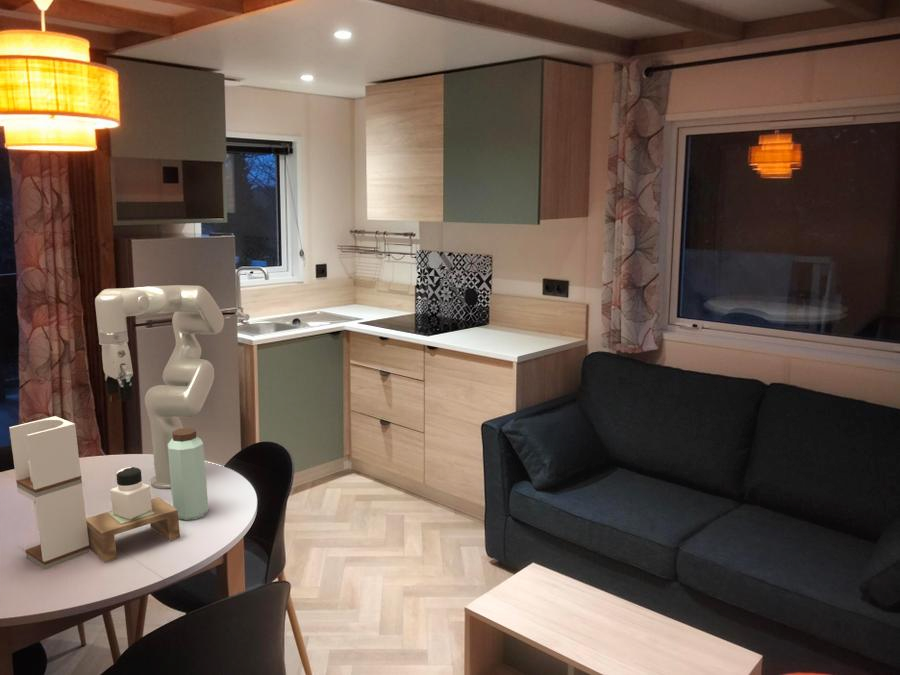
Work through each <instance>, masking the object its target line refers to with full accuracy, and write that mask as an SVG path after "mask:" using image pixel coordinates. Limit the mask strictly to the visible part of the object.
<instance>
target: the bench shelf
mask: <svg viewBox="0 0 900 675" xmlns="http://www.w3.org/2000/svg"><path fill="white" fill-rule="evenodd" d="M151 503H152V510H151V511H149V512H147V513H144V514H142V515H140V516H137V517H135V518H133V519H131V520H130V519H127V518H123V517H120V516H117V515H114V514H113V510H110V511H107V512H103V513H100V514H96V515H93V516H90V517H86V523H87V531H88V540H89V549H90V552H93V553H94V555H95V556H97V557H98V558H99V559H100V560H101V561H102V562H104V563H107V562H110V561H113V560H117V558H118V557H117V548H116V547H117V546H116V540H115V539H116V538H115V535H119V534H123V533H125V532H127V531H131V530H135V529H138V528H140V527H144V526H147V525H150V528H151V529H152V530H154V531H155V532H156V533H158V534H160V535H161V536H162V538H165V539H166V540H167V541H169V542H171V541H173V540H177V539H179V538H181V533H180V532H181V531H180V522H179V521H180V519H178V510H177V509H176V508H174V507H173V505H171V504H170V503H169V502H166V500H163V499H162V498H161V497H159V496H158V497H153V498H151Z"/></svg>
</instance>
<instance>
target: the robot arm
mask: <svg viewBox="0 0 900 675" xmlns="http://www.w3.org/2000/svg"><path fill="white" fill-rule="evenodd" d="M94 306H95V313H96V314H95V316H96V324H97V325H96V326H97V332H98V333H97V334H98V341H99V342H98V344H99V345H101V359H102V360H101V361H102V369H103V374H104V380H105V388H106V395H114V394H118V393H119V399H120V401H121V402H123V401H130V400H132V399H133V392H132V390H133V389H132V377H133V375H134V371H133V365H132V358H131V357H132V356H131V351H130V349H129V348H130V347H129V345H128V343H129V336H128V335H129V334H128V324H127V317H135V316H140V315H142V314H144V315H160V314H169V313H171V314H172V313H173V316H172V318H171V320H172V321H171V323H172V328H173V333H174V338H175V347H174V348H173V351H172V352H171V355H170V357H169V359H168V361H167V363H166V365H165V367H164V369H163V372H162V380H163V382H164V384H160V385H159V384H158V385H154V386H152V387H150V388H149V389H148V390H146V392H145V393H146V394H144V395H145V396H144V405H145V409H146V413H147V415H148V416H147V417H148V419H149V424H150V432H151V444H152V453H153V461H154V462H153V464H154V473H155V474H154V476H153V477H152V478H151V479H150V486H152V487H153V488H156V489H164V490H165V489H171V478H170V467H169V456H168V443H169V442H170V441H171V439H172V432H173V431H175V430H177V429H182V428H184V427H183V423H182V421H181V419H180V418H193V417H195V416H197V415H199V413H200V411H201V410H202V408H203V406H204V404H205V402H206V401H207V400H206V399H207V397H208V395H209V393H210V391H211V388H212V386H213V385H214V384H213V383H214V380H215V368H214V366H213V364H212V362H210V361H209V360H207V359H202V358H201V356H202V347H201V345H200V343H199V341H198V339H197V338H196V335H216V334H219V333H220V332H222V330H223V328H224V325H225V318H224V315H223V313H222V310H221V309H220V307H219V306H218V304H217V302H216V301H215V299H214V297H213V296H212V295H211V293H210V292H209V291H208V290H207V289H206V288H204V286H202V285H190V284H189V285H186V284H185V285H184V284H183V285H181V284H176V285H175V284H173V285H172V284H171V285H150V286H138V287H125V288H123V287H122V288H121V287H119V288H106V289H103V290H102V291H100V292H99V293H98V294H97V296H96V297H95V298H94Z"/></svg>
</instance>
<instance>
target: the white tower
mask: <svg viewBox="0 0 900 675" xmlns="http://www.w3.org/2000/svg"><path fill="white" fill-rule="evenodd" d="M8 428H9V435H10V436H9V437H10V442H11V443H10V444H11V445H10V446H11V451H12V459H13V465H14V467H13V468H14V472H15V473H14V474H15V480H16V488H17V493H18V494H20V495H22V496H24V497H25V498H27V499H30V500H31V501H33V508H34V517H35V524H36V529H37V530H38V535H39V542H40V544H38V545H34V546H32V547H29V548H26V549H25V556H26V558H27V557H28V558H27V559H29V560H31V561H32V562H33V561H34V562H33V563H35V564H36V565H38V566H40V568H42V569H44V570H48V569H50V568H53V567H55V566H58V565H61V564H63V563H67V562H69V561H71V560H74V559H76V558H79V557H82V556H84V555H86V554H89V553H91V550H90V549H89V540H88V531H87V523H86V518H87V517H86V516H87V515H86V507H85V506H86V505H85V497H84V491H83V490H84V489H83V480H82V471H81V464H80V455H79V446H78V439H77V438H78V437H77V428H76V423H74V422H71V421H69V420H66V419H64V418H61V417H59V416H56V415H54V416H50V417H46V418H42V419H38V420H34V421H30V422H26V423H21V424H17V425H13V426H8Z"/></svg>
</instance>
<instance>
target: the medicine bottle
mask: <svg viewBox="0 0 900 675" xmlns="http://www.w3.org/2000/svg"><path fill="white" fill-rule="evenodd" d="M115 475H116V482H117V486H116V487H113V488H111V489H110V491H109V492H110V497H111V498H110V500H111V507H112V508H111V511H113V514H114V515H117V516H120V517H123V518H127V519H130V520H131V519H133V518H135V517H137V516H140V515H142V514H144V513H147V512H149V511H151V510H152V503H151V499H152V495H151V485H149V484H146V483H143V478H142V477H143V476H142V470H141V469H140V468H139V467H133V466H130V467H125V468H121V469H119V470H118V471H117V472H116V474H115Z"/></svg>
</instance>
